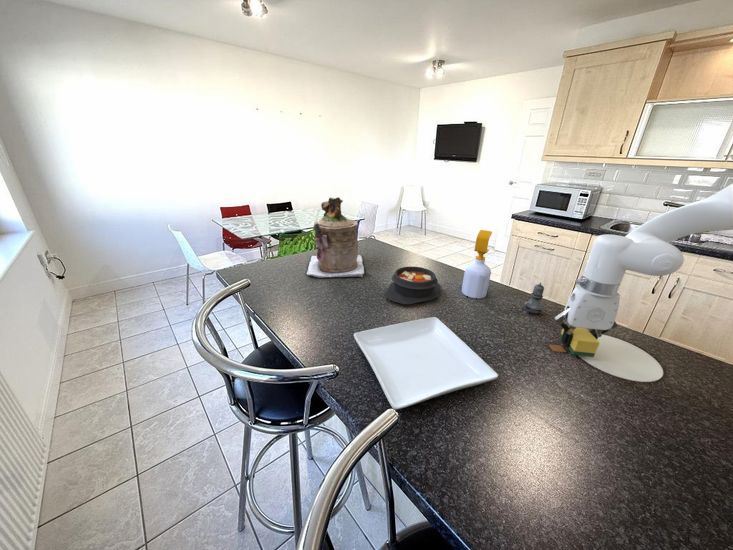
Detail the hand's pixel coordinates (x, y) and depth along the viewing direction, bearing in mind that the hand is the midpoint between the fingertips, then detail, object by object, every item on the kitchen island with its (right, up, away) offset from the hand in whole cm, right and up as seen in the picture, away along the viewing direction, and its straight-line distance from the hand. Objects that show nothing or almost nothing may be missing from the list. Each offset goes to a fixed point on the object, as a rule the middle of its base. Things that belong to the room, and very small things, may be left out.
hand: (576, 344), depth 80 cm
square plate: (-44, -4, -4) cm, 44 cm away
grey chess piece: (-1, +5, +20) cm, 21 cm away
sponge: (0, -1, 0) cm, 1 cm away
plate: (+9, -4, 0) cm, 10 cm away
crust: (-4, -3, +2) cm, 6 cm away
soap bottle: (-16, +12, +33) cm, 39 cm away
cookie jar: (-71, +22, +54) cm, 92 cm away
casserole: (-39, +12, +32) cm, 52 cm away
